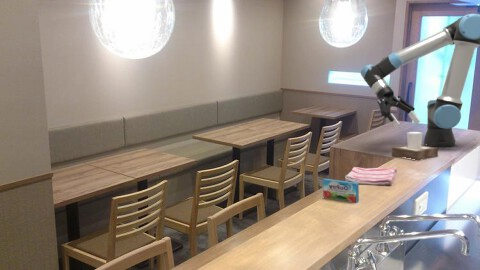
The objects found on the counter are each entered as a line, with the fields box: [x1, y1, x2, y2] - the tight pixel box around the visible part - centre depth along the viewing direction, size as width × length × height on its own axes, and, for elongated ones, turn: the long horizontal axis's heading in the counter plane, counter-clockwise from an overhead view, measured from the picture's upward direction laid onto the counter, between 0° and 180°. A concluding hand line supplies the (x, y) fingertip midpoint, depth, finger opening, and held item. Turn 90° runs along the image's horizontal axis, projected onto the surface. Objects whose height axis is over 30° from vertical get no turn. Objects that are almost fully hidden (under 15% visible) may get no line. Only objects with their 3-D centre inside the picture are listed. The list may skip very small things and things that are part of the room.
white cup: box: [406, 131, 424, 149], centre depth 211 cm, size 7×7×7 cm
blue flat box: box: [322, 178, 360, 204], centre depth 150 cm, size 12×2×6 cm, turn 50°
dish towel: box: [344, 166, 398, 186], centre depth 177 cm, size 17×23×4 cm
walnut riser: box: [391, 144, 439, 161], centre depth 212 cm, size 14×14×4 cm
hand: (408, 124), depth 212 cm, fingers open, 13 cm apart
